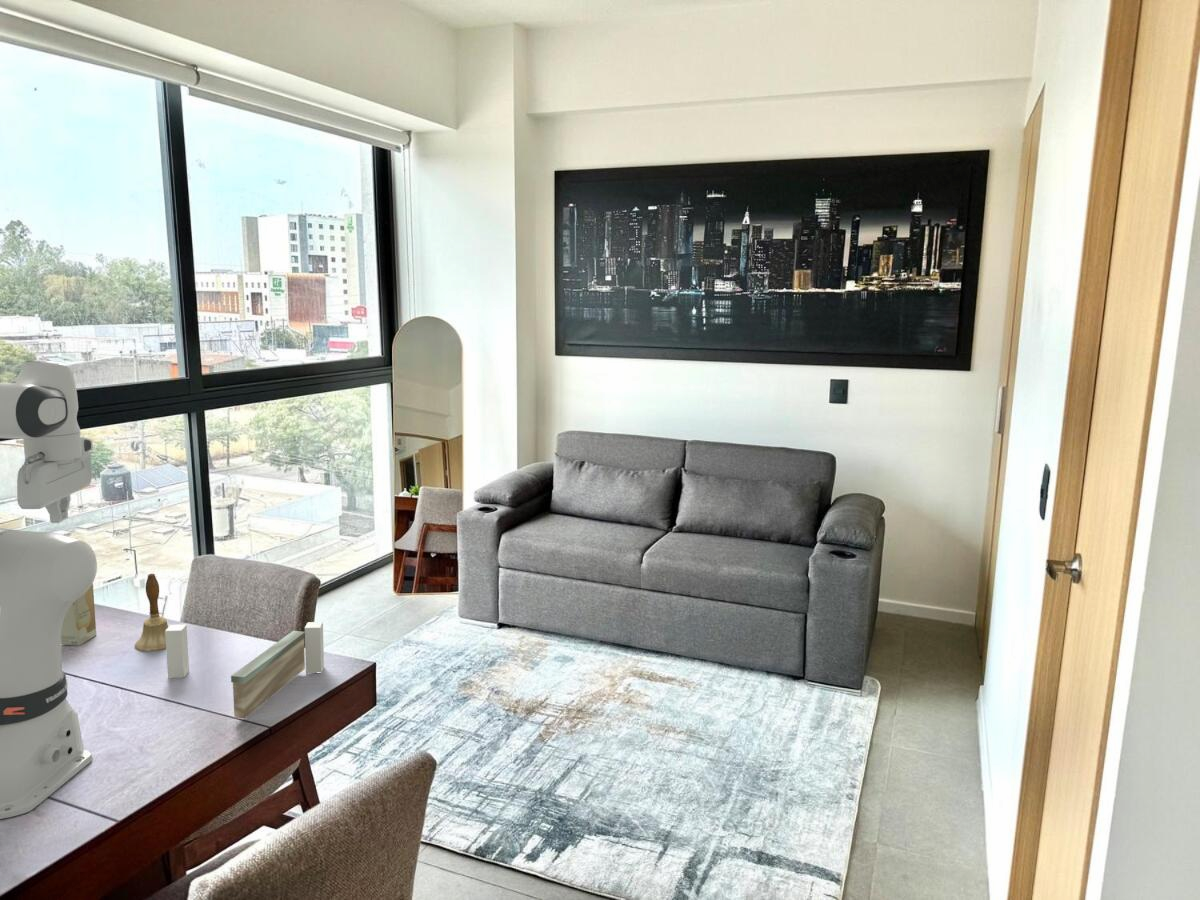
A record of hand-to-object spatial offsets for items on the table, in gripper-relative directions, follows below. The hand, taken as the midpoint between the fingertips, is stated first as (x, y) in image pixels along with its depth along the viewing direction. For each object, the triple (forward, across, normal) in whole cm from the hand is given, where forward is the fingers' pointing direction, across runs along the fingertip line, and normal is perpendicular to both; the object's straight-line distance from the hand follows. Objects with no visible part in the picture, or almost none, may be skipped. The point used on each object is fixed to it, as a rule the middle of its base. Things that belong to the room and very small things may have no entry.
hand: (59, 521), depth 154 cm
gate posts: (+33, +4, -31) cm, 45 cm away
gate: (+32, -7, -38) cm, 51 cm away
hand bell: (+33, +20, -8) cm, 40 cm away
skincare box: (+33, +23, +9) cm, 42 cm away
